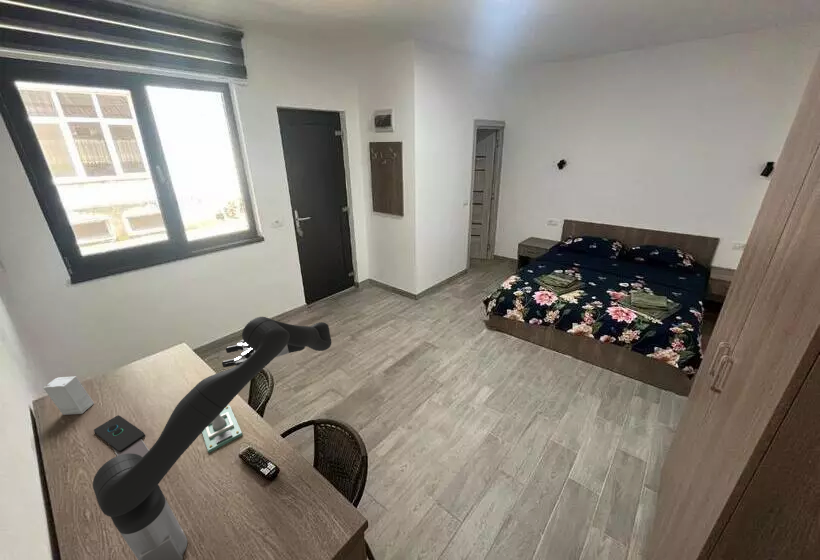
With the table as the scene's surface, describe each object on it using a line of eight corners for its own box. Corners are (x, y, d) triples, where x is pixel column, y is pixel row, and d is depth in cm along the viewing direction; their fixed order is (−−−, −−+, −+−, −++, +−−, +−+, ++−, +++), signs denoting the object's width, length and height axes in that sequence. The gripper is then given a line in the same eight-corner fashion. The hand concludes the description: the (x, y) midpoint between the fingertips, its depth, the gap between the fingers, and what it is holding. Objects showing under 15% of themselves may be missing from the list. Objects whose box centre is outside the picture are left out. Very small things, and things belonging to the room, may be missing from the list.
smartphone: (136, 431, 119) (150, 452, 111) (137, 433, 120) (151, 454, 111) (111, 445, 114) (124, 468, 106) (112, 447, 114) (125, 470, 106)
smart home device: (118, 414, 126) (145, 433, 117) (120, 417, 127) (147, 436, 118) (92, 430, 119) (118, 451, 111) (94, 433, 120) (120, 454, 111)
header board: (242, 434, 117) (241, 430, 116) (208, 453, 110) (206, 448, 110) (230, 406, 129) (228, 402, 129) (199, 421, 123) (197, 417, 122)
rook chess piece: (223, 418, 122) (217, 403, 119) (228, 424, 120) (222, 408, 116) (210, 426, 119) (204, 410, 116) (215, 432, 117) (209, 416, 113)
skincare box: (94, 403, 133) (78, 375, 127) (81, 415, 128) (64, 386, 122) (74, 404, 133) (57, 376, 127) (60, 415, 128) (41, 387, 122)
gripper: (272, 327, 121) (224, 337, 116) (272, 348, 108) (218, 360, 103) (276, 344, 124) (229, 354, 119) (276, 366, 111) (224, 378, 106)
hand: (224, 357), depth 111 cm, fingers open, 8 cm apart
